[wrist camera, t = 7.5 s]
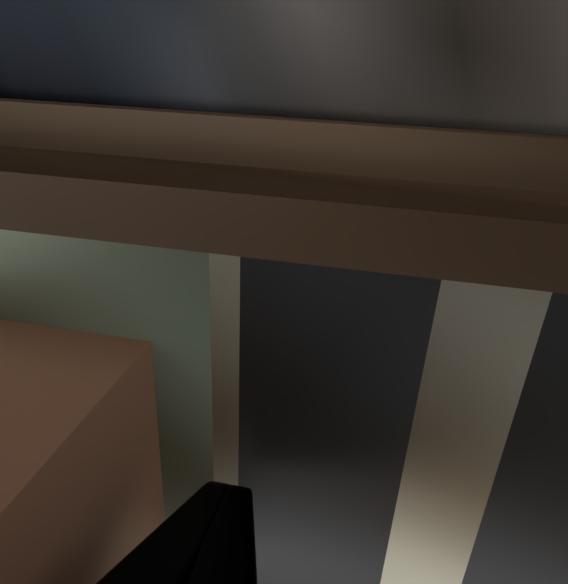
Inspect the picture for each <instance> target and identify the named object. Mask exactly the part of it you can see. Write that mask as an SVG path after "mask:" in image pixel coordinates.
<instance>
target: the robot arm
mask: <svg viewBox="0 0 568 584" xmlns="http://www.w3.org/2000/svg"><path fill="white" fill-rule="evenodd" d="M96 584H258V582H257V564H256V546H255V528H254V510H253V493H252V490H251V489H250V488H247V487H242V486H237V485H229V484H226V483H221V482H216V481H209V482H207V483H205V484H204V485H203V486H202V487H201V488H200V489H199V490H198V491H197V492H195V493H194V494H193V495H192V496H191V497H190V498H189V499H188V500H187V501H186V502H185V503H183V504H182V505H181V506H180V507H179V508H178V509H177V510H176V511H175V512H174V513H172V514H171V515H170V516H169V517H168V518H167V519H166V520H165V521H164V522H163V523H162V524H160V525H159V526H158V527H157V528H156V529H155V530H154V531H153V532H152V533H151V534H149V535H148V536H147V537H146V538H145V539H144V540H143V541H142V542H141V543H140V544H139V545H137V546H136V547H135V548H134V549H133V550H132V551H131V552H130V553H129V554H128V555H126V556H125V557H124V558H123V559H122V560H121V561H120V562H119V563H118V564H117V565H116V566H114V567H113V568H112V569H111V570H110V571H109V572H108V573H107V574H106V575H105V576H103V577H102V578H101V579H100V580H99V581H98V582H97V583H96Z"/></svg>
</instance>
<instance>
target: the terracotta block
mask: <svg viewBox="0 0 568 584" xmlns="http://www.w3.org/2000/svg"><path fill="white" fill-rule="evenodd" d="M164 521H165V511H164V498H163V486H162V473H161V460H160V447H159V435H158V422H157V409H156V396H155V384H154V371H153V358H152V345H151V342H150V341H143V340H136V339H129V338H123V337H116V336H109V335H102V334H96V333H89V332H82V331H76V330H69V329H62V328H55V327H49V326H42V325H35V324H28V323H22V322H15V321H8V320H1V319H0V584H96V583H97V582H98V581H99V580H100V579H101V578H102V577H103V576H105V575H106V574H107V573H108V572H109V571H110V570H111V569H112V568H113V567H114V566H116V565H117V564H118V563H119V562H120V561H121V560H122V559H123V558H124V557H125V556H126V555H128V554H129V553H130V552H131V551H132V550H133V549H134V548H135V547H136V546H137V545H139V544H140V543H141V542H142V541H143V540H144V539H145V538H146V537H147V536H148V535H149V534H151V533H152V532H153V531H154V530H155V529H156V528H157V527H158V526H159V525H160V524H162V523H163V522H164Z"/></svg>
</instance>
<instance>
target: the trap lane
mask: <svg viewBox="0 0 568 584" xmlns="http://www.w3.org/2000/svg"><path fill="white" fill-rule="evenodd" d="M0 319H1V320H8V321H15V322H22V323H28V324H35V325H42V326H49V327H55V328H62V329H69V330H76V331H82V332H89V333H96V334H102V335H109V336H116V337H123V338H129V339H136V340H143V341H150V342H151V345H152V358H153V371H154V384H155V396H156V409H157V422H158V435H159V447H160V460H161V473H162V486H163V498H164V511H165V520H166V519H167V518H168V517H169V516H170V515H171V514H172V513H174V512H175V511H176V510H177V509H178V508H179V507H180V506H181V505H182V504H183V503H185V502H186V501H187V500H188V499H189V498H190V497H191V496H192V495H193V494H194V493H195V492H197V491H198V490H199V489H200V488H201V487H202V486H203V485H204V484H205V483H207V482H209V481H216V482H221V483H226V484H229V485H237V486H242V487H247V488H250V489H251V490H252V493H253V510H254V528H255V546H256V564H257V582H258V584H568V136H561V135H546V134H531V133H516V132H501V131H486V130H471V129H456V128H441V127H426V126H412V125H397V124H382V123H367V122H352V121H337V120H322V119H307V118H292V117H277V116H262V115H247V114H232V113H217V112H202V111H188V110H173V109H158V108H143V107H128V106H113V105H98V104H83V103H68V102H53V101H38V100H23V99H8V98H0Z"/></svg>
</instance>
